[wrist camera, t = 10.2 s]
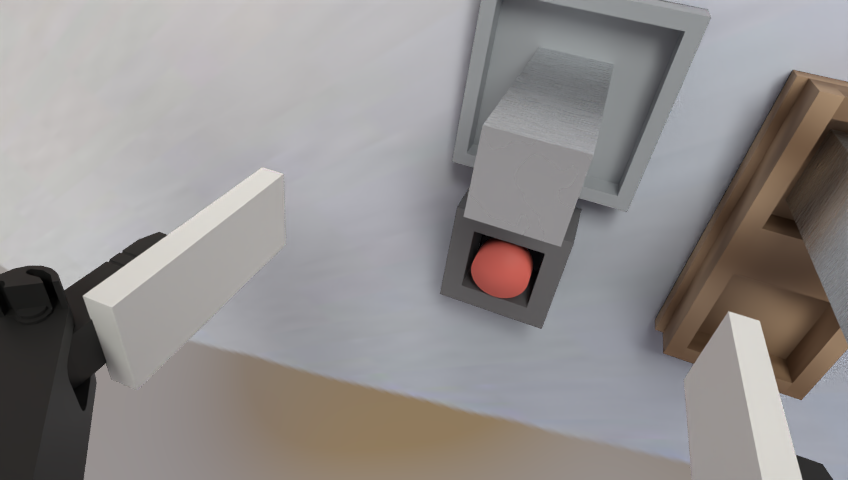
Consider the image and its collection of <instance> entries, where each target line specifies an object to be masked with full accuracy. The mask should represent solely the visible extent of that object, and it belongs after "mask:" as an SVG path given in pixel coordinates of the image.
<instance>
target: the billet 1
mask: <svg viewBox="0 0 848 480" xmlns="http://www.w3.org/2000/svg"><path fill="white" fill-rule="evenodd" d="M613 68H614V64H611V63H607V62H602V61H598V60H594V59H589V58H585V57H581V56H576V55H572V54H568V53H563V52H559V51H555V50H550V49H546V48H542V47H539V49H538V50H537V51H536V53H535V54H534V55H533V57H532V58H531V60H530V61H529V62H528V64H527V65H526V66H525V68H524V69H523V71H522V72H521V73H520V75H519V76H518V77H517V79H516V80H515V81H514V83H513V84H512V86H511V87H510V88H509V90H508V91H507V92H506V94H505V95H504V97H503V98H502V99H501V101H500V102H499V103H498V105H497V106H496V108H495V109H494V110H493V112H492V113H491V114H490V116H489V117H488V119H487V120H486V121H485V123H484V124H483V126H482V131H481V136H480V141H479V145H478V150H477V155H476V160H475V164H474V169H473V174H472V179H471V183H470V188H469V193H468V198H467V202H466V207H465V212H464V217H466V218H469V219H473V220H476V221H479V222H482V223H486V224H489V225H492V226H495V227H498V228H502V229H505V230H508V231H511V232H515V233H518V234H521V235H524V236H527V237H531V238H534V239H537V240H540V241H544V242H547V243H550V244H553V245H556V246H560V247H561V245H562V242H563V239H564V236H565V234H566V231H567V228H568V225H569V223H570V220H571V217H572V214H573V211H574V209H575V206H576V203H577V200H578V197H579V195H580V192H581V189H582V186H583V183H584V181H585V178H586V175H587V172H588V170H589V167H590V164H591V161H592V158H593V156H594V151H595V147H596V143H597V138H598V134H599V129H600V125H601V121H602V116H603V112H604V107H605V103H606V99H607V94H608V90H609V85H610V81H611V77H612V72H613Z"/></svg>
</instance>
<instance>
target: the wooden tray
mask: <svg viewBox="0 0 848 480" xmlns="http://www.w3.org/2000/svg"><path fill="white" fill-rule="evenodd" d="M831 129H832V130H836V131H841V132H845V133H848V82H846V81H841V80H837V79H832V78H828V77H823V76H819V75H814V74H809V73H805V72H800V71H796V70H793V71H792V72H791V74H790V76H789V78H788V80H787V82H786V83H785V85H784V87H783V89H782V91H781V92H780V94H779V96H778V98H777V100H776V101H775V103H774V105H773V107H772V109H771V111H770V112H769V114H768V116H767V118H766V120H765V121H764V123H763V125H762V127H761V129H760V131H759V132H758V134H757V136H756V138H755V140H754V141H753V143H752V145H751V147H750V149H749V150H748V152H747V154H746V156H745V158H744V160H743V161H742V163H741V165H740V167H739V169H738V170H737V172H736V174H735V176H734V178H733V179H732V181H731V183H730V185H729V187H728V189H727V190H726V192H725V194H724V196H723V198H722V199H721V201H720V203H719V205H718V207H717V208H716V210H715V212H714V214H713V216H712V218H711V219H710V221H709V223H708V225H707V227H706V228H705V230H704V232H703V234H702V236H701V238H700V239H699V241H698V243H697V245H696V247H695V248H694V250H693V252H692V254H691V256H690V257H689V259H688V261H687V263H686V265H685V267H684V268H683V270H682V272H681V274H680V276H679V277H678V279H677V281H676V283H675V285H674V286H673V288H672V290H671V292H670V294H669V296H668V297H667V299H666V301H665V303H664V305H663V306H662V308H661V310H660V312H659V314H658V316H657V317H656V319H655V330H658V331H661V332H663V353H664V354H667V355H670V356H673V357H676V358H679V359H682V360H684V361H687V362H690V363H693V364H694V363H695V362H696V360H697V359H698V357H699V355H700V354H701V352H702V351H703V349H704V348H705V346H706V345H707V343H708V342H709V340H710V339H711V337H712V336H713V334H714V333H715V331H716V330H717V328H718V326H719V325H720V323H721V322H722V320H723V319H724V317H725V316H726V314H727V313H728V311H729V312H733V313H736V314H739V315H742V316H746V317H749V318H752V319H755V320H759V321H760V324H761V327H762V331H763V335H764V339H765V342H766V346H767V350H768V353H769V357H770V361H771V365H772V368H773V372H774V376H775V379H776V383H777V387H778V391H779V393H782V394H785V395H788V396H791V397H794V398H797V399H799V400H802V399H803V398H804V397H805V396H806V394H807V393H808V392H809V391H810V390H811V389H812V388H813V387H814V386H815V384H816V383H817V382H818V381H819V380H820V379H821V378H822V377H823V376H824V374H825V373H826V372H827V371H828V370H829V369H830V368H831V367H832V366H833V364H834V363H835V362H836V361H837V360H838V359H839V358H840V357H841V356H842V354H843V353H844V352H845V351H846V350H847V349H848V344H847V342H846V339H845V337H844V335H843V332H842V330H841V328H840V325H839V323H838V321H837V318H836V316H835V314H834V311H833V309H832V307H831V304H830V302H829V300H828V297H827V295H826V293H825V290H824V288H823V286H822V283H821V281H820V279H819V276H818V274H817V272H816V269H815V267H814V265H813V262H812V260H811V258H810V255H809V253H808V250H807V248H806V246H805V243H804V241H803V239H802V236H801V234H800V232H799V229H798V227H797V225H796V222H795V220H794V218H793V215H792V213H791V211H790V208H789V206H788V204H787V201H786V199H787V197H788V195H789V194H790V192H791V191H792V189H793V188H794V186H795V184H796V183H797V181H798V180H799V178H800V177H801V175H802V173H803V172H804V170H805V169H806V167H807V166H808V164H809V162H810V161H811V159H812V158H813V156H814V155H815V153H816V151H817V150H818V148H819V147H820V145H821V144H822V142H823V140H824V139H825V137H826V136H827V134H828V133H829V131H830V130H831Z"/></svg>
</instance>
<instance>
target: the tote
mask: <svg viewBox="0 0 848 480" xmlns="http://www.w3.org/2000/svg"><path fill="white" fill-rule="evenodd" d="M710 19H711V16H710V13H709V11H708V10H707V9H702V8H698V7H693V6H688V5H683V4H678V3H673V2H668V1H663V0H481V3H480V9H479V15H478V20H477V26H476V31H475V37H474V42H473V48H472V53H471V59H470V64H469V70H468V75H467V81H466V87H465V92H464V98H463V103H462V109H461V114H460V120H459V125H458V131H457V136H456V142H455V147H454V153H453V159H452V162H455V163H459V164H462V165H466V166H469V167H472V168H474V164H475V160H476V155H477V150H478V145H479V141H480V136H481V131H482V126H483V124H484V123H485V121H486V120H487V119H488V117H489V116H490V114H491V113H492V112H493V110H494V109H495V108H496V106H497V105H498V103H499V102H500V101H501V99H502V98H503V97H504V95H505V94H506V92H507V91H508V90H509V88H510V87H511V86H512V84H513V83H514V81H515V80H516V79H517V77H518V76H519V75H520V73H521V72H522V71H523V69H524V68H525V66H526V65H527V64H528V62H529V61H530V60H531V58H532V57H533V55H534V54H535V53H536V51H537V50H538V49H539V47H542V48H546V49H550V50H555V51H559V52H563V53H568V54H572V55H576V56H581V57H585V58H589V59H594V60H598V61H602V62H607V63H611V64H614V68H613V72H612V77H611V81H610V85H609V90H608V94H607V99H606V103H605V107H604V112H603V116H602V121H601V125H600V129H599V134H598V138H597V143H596V147H595V151H594V156H593V158H592V161H591V164H590V167H589V170H588V172H587V175H586V178H585V181H584V183H583V186H582V189H581V192H580V195H579V197H578V198H580V199H583V200H587V201H590V202H594V203H597V204H601V205H604V206H608V207H611V208H614V209H618V210H621V211H625V212H627V211H628V209H629V206H630V204H631V202H632V199H633V197H634V195H635V192H636V190H637V188H638V185H639V183H640V181H641V178H642V176H643V174H644V171H645V169H646V167H647V165H648V162H649V160H650V158H651V155H652V153H653V151H654V148H655V146H656V144H657V141H658V139H659V137H660V134H661V132H662V130H663V127H664V125H665V123H666V121H667V118H668V116H669V114H670V111H671V109H672V107H673V104H674V102H675V100H676V97H677V95H678V93H679V90H680V88H681V86H682V83H683V81H684V79H685V77H686V74H687V72H688V70H689V67H690V65H691V63H692V60H693V58H694V56H695V53H696V51H697V49H698V46H699V44H700V42H701V39H702V37H703V35H704V33H705V30H706V28H707V26H708V23H709V21H710Z"/></svg>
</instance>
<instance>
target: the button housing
mask: <svg viewBox="0 0 848 480" xmlns="http://www.w3.org/2000/svg"><path fill="white" fill-rule="evenodd" d="M469 188H470V187H469ZM468 193H469V189H468V191H467V192H466V194H465V196H464V197H463V199H462V200H461V202H460V204H459V205H458V207H457V211H456V216H455V221H454V226H453V231H452V236H451V241H450V246H449V251H448V256H447V261H446V266H445V271H444V277H443V282H442V287H441V292H440V294H442V295H445V296H448V297H451V298H454V299H457V300H460V301H462V302H465V303H468V304H471V305H474V306H477V307H480V308H483V309H486V310H488V311H491V312H494V313H497V314H500V315H503V316H506V317H509V318H512V319H514V320H517V321H520V322H523V323H526V324H529V325H532V326H535V327H538V328H540V329H542V326H543V324H544V321H545V318H546V316H547V313H548V310H549V308H550V305H551V302H552V300H553V297H554V294H555V292H556V289H557V286H558V284H559V281H560V278H561V276H562V273H563V270H564V268H565V265H566V262H567V260H568V257H569V254H570V252H571V249H572V246H573V244H574V240H575V235H576V231H577V226H578V222H579V218H580V213H581V209H579V208H575V209H574V211H573V214H572V217H571V220H570V223H569V225H568V228H567V231H566V234H565V236H564V239H563V242H562V245H561V247H560V246H556V245H553V244H550V243H547V242H544V241H540V240H537V239H534V238H531V237H527V236H524V235H521V234H518V233H515V232H511V231H508V230H505V229H502V228H498V227H495V226H492V225H489V224H486V223H482V222H479V221H476V220H473V219H469V218H466V217H464V212H465V207H466V202H467V198H468ZM482 234H484V235H487V236H491V237H494V238H497V239H500V240H503V241H506V242H510V243H513V244H516V245H519V246H522V247H525V248H529V249H532V250H535V251H538V252H541V253H544V255H543V258H542V261H541V264H540V267H539V270H538V272H536V271H533V270H532V273H531V276H530V279H529V282H528V285H527V287H526V289H525V290H524V291H523V292H522V293H521V294H519V295H518V296H515V297H512V298H498V297H494V296H491V295H489V294H487V293H486V292H484V291H483V290H481V289H480V288H479V287H478V286H477V284H476V283H475V281H474V280H473V277H472V273H471V266H472V263H473V261H474V259H475V257H476V255H477V253H478V249H479V245H480V241H481V237H482Z"/></svg>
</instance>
